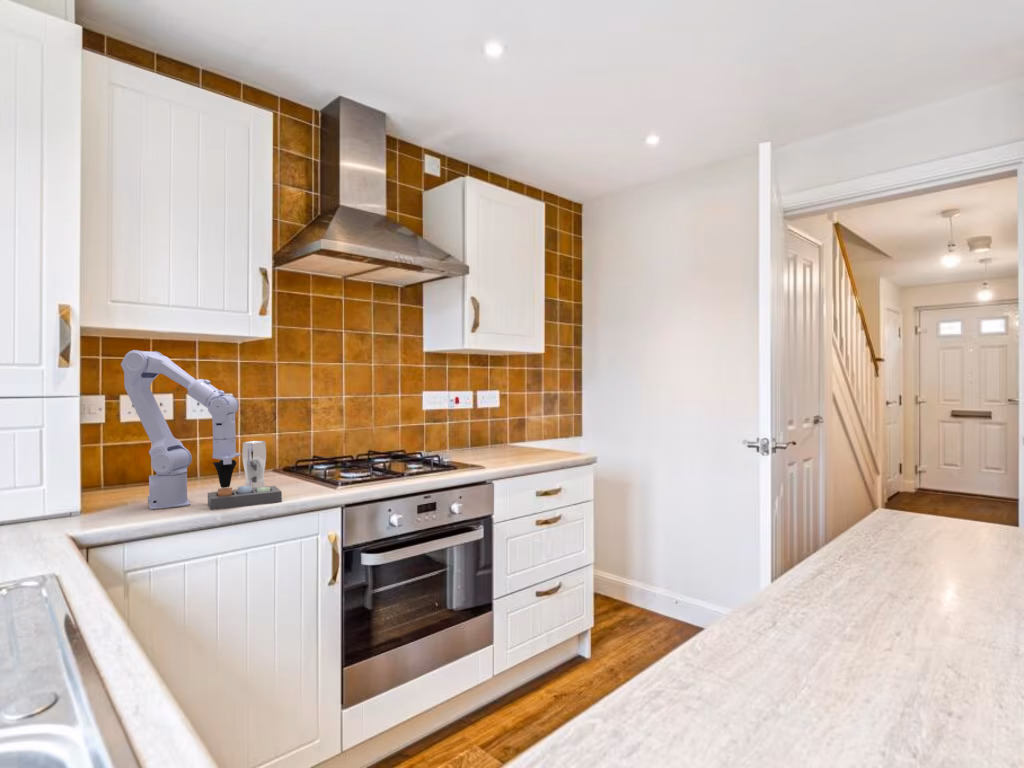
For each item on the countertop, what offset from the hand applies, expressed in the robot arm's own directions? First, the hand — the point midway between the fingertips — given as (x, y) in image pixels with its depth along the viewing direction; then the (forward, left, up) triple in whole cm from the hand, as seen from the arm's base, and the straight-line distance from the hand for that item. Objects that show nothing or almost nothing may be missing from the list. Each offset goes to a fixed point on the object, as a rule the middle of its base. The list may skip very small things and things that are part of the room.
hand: (225, 487), depth 163 cm
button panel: (+5, 0, -5) cm, 7 cm away
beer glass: (+10, +20, -5) cm, 23 cm away
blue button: (+5, 0, -3) cm, 6 cm away
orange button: (0, 0, -4) cm, 4 cm away
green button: (+10, 0, -4) cm, 11 cm away
